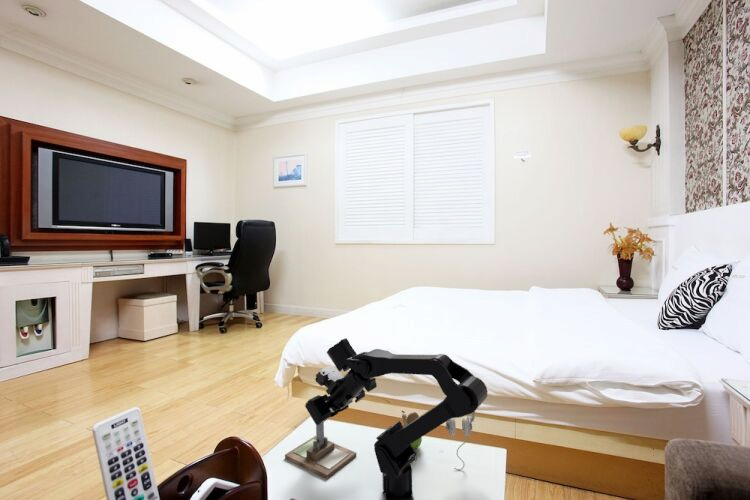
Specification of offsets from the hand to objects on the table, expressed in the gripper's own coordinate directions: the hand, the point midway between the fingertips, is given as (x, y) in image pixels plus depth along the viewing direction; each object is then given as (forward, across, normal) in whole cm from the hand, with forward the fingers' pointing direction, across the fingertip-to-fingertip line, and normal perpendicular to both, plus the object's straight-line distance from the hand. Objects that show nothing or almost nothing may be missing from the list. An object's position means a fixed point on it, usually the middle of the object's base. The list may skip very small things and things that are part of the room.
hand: (321, 415), depth 102 cm
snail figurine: (-4, -18, +22) cm, 28 cm away
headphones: (-15, -16, +32) cm, 39 cm away
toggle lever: (+7, 0, +6) cm, 9 cm away
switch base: (+9, 0, +8) cm, 12 cm away
